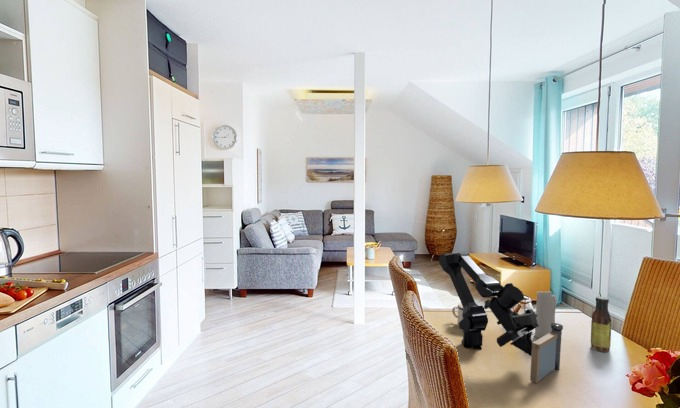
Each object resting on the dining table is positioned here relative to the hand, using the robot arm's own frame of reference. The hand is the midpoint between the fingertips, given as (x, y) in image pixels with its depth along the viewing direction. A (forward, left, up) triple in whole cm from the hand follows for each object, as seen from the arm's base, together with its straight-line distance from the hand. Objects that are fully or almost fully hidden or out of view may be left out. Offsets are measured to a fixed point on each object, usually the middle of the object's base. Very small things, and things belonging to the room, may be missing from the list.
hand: (535, 357), depth 120 cm
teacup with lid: (-17, +40, -7) cm, 44 cm away
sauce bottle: (+31, +28, -7) cm, 43 cm away
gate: (+3, +2, -6) cm, 7 cm away
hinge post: (+9, +8, -7) cm, 14 cm away
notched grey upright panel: (+16, +37, -7) cm, 41 cm away
